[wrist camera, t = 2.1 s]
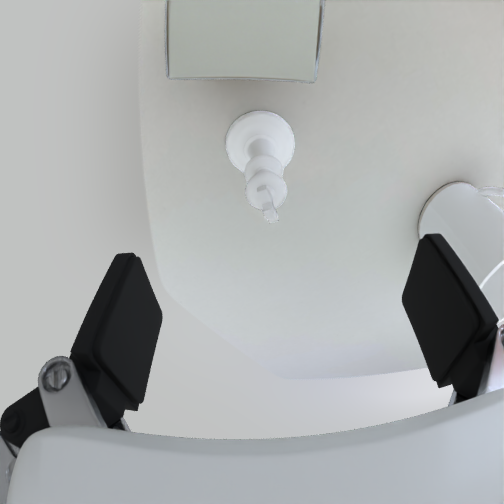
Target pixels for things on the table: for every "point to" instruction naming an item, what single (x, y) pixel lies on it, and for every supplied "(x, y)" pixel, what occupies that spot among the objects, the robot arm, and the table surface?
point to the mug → (471, 234)
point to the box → (243, 39)
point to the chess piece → (262, 158)
